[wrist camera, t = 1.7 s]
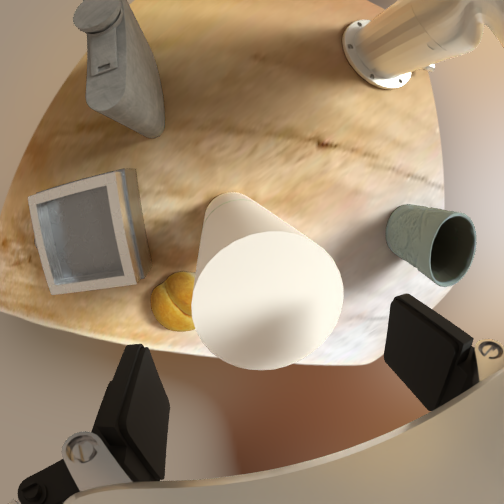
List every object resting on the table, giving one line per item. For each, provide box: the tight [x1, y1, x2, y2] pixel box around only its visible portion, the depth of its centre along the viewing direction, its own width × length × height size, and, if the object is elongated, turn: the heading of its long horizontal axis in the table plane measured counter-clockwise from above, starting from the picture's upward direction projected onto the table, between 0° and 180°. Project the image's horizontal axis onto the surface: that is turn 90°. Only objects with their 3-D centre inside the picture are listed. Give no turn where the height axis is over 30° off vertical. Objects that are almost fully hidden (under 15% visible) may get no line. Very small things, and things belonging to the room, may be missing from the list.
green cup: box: [386, 204, 476, 287], centre depth 35 cm, size 10×10×12 cm
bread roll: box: [151, 271, 196, 332], centre depth 37 cm, size 8×9×4 cm
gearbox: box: [28, 169, 152, 295], centre depth 30 cm, size 16×13×8 cm
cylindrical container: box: [191, 192, 344, 370], centre depth 25 cm, size 7×7×25 cm
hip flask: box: [73, 0, 165, 138], centre depth 20 cm, size 16×4×20 cm, turn 14°
